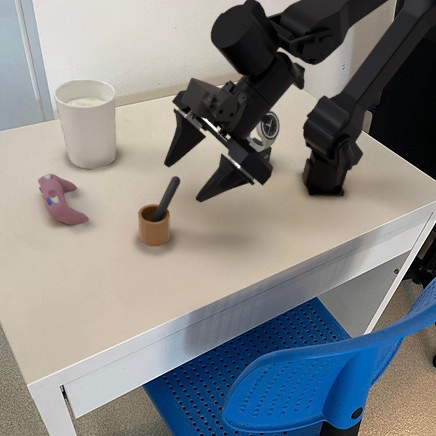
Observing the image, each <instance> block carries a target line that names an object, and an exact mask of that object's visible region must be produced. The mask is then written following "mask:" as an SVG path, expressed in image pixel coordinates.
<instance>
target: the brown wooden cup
mask: <svg viewBox="0 0 436 436" xmlns="http://www.w3.org/2000/svg"><path fill="white" fill-rule="evenodd" d="M158 206H159V203H151V204H147V205H143V206H142V207H141V208H140V209H139V210H138V212H137V219H138V237H139V240H140V242H141V243H142V244H143V245H145V246H148V247H153V248H154V247H161V246H164V245H166V244H167V243H168V242H169V240H170V237H171V220H170V219H171V213H170V210H169V209H168V208H167V210H166V212H165V214H164V216H163V218H162V220H161V221H159V222H151V220H152V218H153V216H154V214H155V212H156V210H157V208H158Z"/></svg>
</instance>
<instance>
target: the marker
mask: <svg viewBox="0 0 436 436" xmlns="http://www.w3.org/2000/svg"><path fill="white" fill-rule="evenodd" d="M180 184H181V178H180V177H179V176H177V175H175V176H172V178H171V179H170V181H169V183H168V185H167V186H166V189H165V192H164V193H163V196H162V198H161V200H160V201H159V203H158V205H159V206H158V208H157V210H156V212H155V214H154V216H153V218H152V220H151V222H159V221H161V220H162V218H163V216H164V214H165V212H166V210H167V209H168V208H169V206H170V204H171V203H172V200H173V198H174V196H175V194H176V192H177V190H178V188H179V186H180Z"/></svg>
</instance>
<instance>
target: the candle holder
mask: <svg viewBox="0 0 436 436" xmlns="http://www.w3.org/2000/svg"><path fill="white" fill-rule="evenodd" d="M116 95H117V94H116V90H115V88H114V87H113V85H111V84H110V83H108V82H106V81H103V80H100V79H94V78H75V79H71V80H67V81H64V82H62V83H60V84H58V85H57V86H56V87H55V89H54V90H53V98H54V101H55V105H56V109H57V113H58V118H59V121H60V126H61V130H62V135H63V139H64V143H65V147H66V152H67V155H68V159H69V161H70V162H71V163H72V164H73V165H75V166H77V167H78V168H81V169H87V170H94V169H95V170H96V169H101V168H104V167H107V166H109V165H110V164H112V163H113V162H114V161H115V159H116V156H117V126H116V125H117V121H116V118H117V117H116Z"/></svg>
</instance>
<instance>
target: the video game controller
mask: <svg viewBox="0 0 436 436" xmlns="http://www.w3.org/2000/svg"><path fill="white" fill-rule="evenodd" d="M37 182H38V184H39V187H38V191H39V192H40V193H41V194H42V196H43V197H44V199H45V201H44V206H45V208H46V211H47V212H48V213H49V214H50V216H51V218H53V219H54V220H55V221H56V222H61V223H63V224H66V225H70V226H76V225H81V224H85V223H86V222H89V220H90V218H89V217H88V216H87V214H85V213H83V212H81V211H78V210H76V209H74V208H73V207H70V206H69V205H68V204H67V201H66V198H65V196H64V194H65V193H69V192H73V191H76V190H77V189H78V187H77V185H75V184H74V182H72V181H69V180H66V179H64V178H61V177H60V176H57V174H54V173H48V174H44V175H43V176H41V177H38V179H37Z"/></svg>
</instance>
